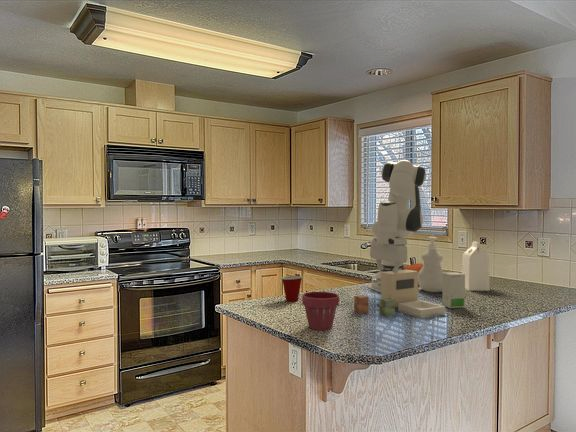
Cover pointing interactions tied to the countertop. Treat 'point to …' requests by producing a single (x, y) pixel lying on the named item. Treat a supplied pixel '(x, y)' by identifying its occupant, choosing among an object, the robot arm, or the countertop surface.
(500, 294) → the countertop surface
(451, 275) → the skincare box
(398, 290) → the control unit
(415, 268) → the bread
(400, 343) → the countertop surface
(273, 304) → the countertop surface
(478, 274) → the milk
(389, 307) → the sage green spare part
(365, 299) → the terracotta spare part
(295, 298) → the plastic cup
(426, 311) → the parts tray
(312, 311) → the plant pot
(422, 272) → the soap bottle
